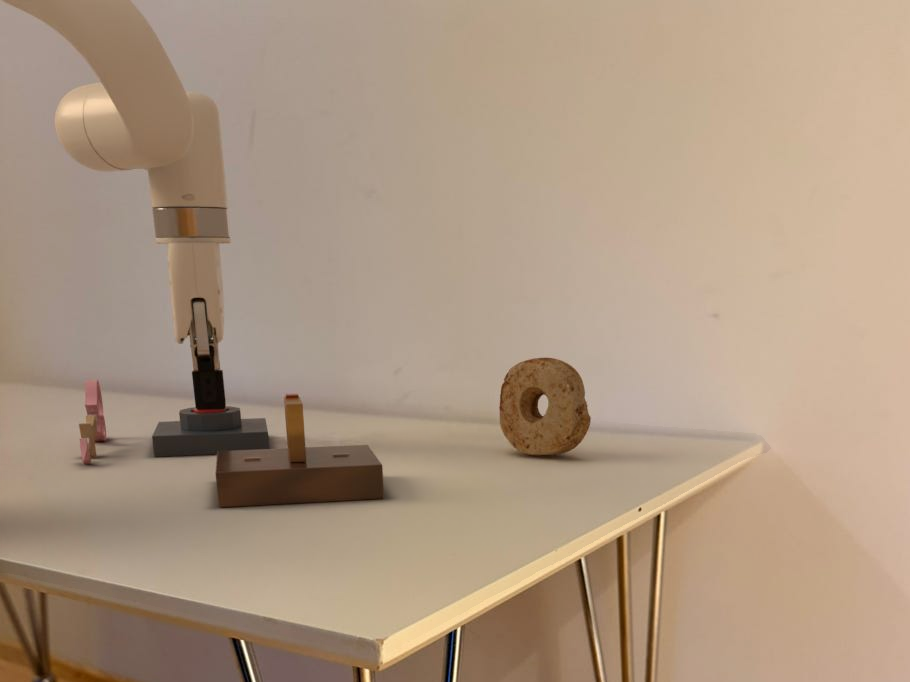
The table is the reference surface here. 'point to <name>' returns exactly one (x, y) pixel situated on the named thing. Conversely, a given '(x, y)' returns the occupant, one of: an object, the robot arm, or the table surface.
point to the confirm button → (209, 410)
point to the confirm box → (209, 433)
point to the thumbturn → (295, 428)
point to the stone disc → (563, 414)
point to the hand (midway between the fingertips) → (211, 408)
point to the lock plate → (298, 476)
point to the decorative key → (92, 421)
